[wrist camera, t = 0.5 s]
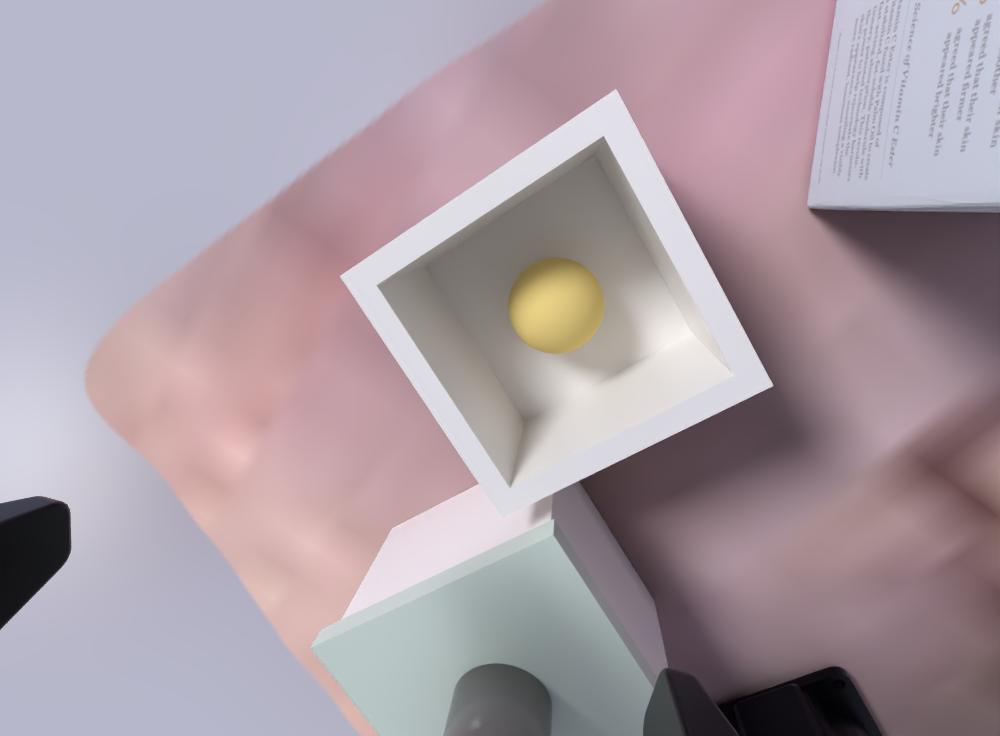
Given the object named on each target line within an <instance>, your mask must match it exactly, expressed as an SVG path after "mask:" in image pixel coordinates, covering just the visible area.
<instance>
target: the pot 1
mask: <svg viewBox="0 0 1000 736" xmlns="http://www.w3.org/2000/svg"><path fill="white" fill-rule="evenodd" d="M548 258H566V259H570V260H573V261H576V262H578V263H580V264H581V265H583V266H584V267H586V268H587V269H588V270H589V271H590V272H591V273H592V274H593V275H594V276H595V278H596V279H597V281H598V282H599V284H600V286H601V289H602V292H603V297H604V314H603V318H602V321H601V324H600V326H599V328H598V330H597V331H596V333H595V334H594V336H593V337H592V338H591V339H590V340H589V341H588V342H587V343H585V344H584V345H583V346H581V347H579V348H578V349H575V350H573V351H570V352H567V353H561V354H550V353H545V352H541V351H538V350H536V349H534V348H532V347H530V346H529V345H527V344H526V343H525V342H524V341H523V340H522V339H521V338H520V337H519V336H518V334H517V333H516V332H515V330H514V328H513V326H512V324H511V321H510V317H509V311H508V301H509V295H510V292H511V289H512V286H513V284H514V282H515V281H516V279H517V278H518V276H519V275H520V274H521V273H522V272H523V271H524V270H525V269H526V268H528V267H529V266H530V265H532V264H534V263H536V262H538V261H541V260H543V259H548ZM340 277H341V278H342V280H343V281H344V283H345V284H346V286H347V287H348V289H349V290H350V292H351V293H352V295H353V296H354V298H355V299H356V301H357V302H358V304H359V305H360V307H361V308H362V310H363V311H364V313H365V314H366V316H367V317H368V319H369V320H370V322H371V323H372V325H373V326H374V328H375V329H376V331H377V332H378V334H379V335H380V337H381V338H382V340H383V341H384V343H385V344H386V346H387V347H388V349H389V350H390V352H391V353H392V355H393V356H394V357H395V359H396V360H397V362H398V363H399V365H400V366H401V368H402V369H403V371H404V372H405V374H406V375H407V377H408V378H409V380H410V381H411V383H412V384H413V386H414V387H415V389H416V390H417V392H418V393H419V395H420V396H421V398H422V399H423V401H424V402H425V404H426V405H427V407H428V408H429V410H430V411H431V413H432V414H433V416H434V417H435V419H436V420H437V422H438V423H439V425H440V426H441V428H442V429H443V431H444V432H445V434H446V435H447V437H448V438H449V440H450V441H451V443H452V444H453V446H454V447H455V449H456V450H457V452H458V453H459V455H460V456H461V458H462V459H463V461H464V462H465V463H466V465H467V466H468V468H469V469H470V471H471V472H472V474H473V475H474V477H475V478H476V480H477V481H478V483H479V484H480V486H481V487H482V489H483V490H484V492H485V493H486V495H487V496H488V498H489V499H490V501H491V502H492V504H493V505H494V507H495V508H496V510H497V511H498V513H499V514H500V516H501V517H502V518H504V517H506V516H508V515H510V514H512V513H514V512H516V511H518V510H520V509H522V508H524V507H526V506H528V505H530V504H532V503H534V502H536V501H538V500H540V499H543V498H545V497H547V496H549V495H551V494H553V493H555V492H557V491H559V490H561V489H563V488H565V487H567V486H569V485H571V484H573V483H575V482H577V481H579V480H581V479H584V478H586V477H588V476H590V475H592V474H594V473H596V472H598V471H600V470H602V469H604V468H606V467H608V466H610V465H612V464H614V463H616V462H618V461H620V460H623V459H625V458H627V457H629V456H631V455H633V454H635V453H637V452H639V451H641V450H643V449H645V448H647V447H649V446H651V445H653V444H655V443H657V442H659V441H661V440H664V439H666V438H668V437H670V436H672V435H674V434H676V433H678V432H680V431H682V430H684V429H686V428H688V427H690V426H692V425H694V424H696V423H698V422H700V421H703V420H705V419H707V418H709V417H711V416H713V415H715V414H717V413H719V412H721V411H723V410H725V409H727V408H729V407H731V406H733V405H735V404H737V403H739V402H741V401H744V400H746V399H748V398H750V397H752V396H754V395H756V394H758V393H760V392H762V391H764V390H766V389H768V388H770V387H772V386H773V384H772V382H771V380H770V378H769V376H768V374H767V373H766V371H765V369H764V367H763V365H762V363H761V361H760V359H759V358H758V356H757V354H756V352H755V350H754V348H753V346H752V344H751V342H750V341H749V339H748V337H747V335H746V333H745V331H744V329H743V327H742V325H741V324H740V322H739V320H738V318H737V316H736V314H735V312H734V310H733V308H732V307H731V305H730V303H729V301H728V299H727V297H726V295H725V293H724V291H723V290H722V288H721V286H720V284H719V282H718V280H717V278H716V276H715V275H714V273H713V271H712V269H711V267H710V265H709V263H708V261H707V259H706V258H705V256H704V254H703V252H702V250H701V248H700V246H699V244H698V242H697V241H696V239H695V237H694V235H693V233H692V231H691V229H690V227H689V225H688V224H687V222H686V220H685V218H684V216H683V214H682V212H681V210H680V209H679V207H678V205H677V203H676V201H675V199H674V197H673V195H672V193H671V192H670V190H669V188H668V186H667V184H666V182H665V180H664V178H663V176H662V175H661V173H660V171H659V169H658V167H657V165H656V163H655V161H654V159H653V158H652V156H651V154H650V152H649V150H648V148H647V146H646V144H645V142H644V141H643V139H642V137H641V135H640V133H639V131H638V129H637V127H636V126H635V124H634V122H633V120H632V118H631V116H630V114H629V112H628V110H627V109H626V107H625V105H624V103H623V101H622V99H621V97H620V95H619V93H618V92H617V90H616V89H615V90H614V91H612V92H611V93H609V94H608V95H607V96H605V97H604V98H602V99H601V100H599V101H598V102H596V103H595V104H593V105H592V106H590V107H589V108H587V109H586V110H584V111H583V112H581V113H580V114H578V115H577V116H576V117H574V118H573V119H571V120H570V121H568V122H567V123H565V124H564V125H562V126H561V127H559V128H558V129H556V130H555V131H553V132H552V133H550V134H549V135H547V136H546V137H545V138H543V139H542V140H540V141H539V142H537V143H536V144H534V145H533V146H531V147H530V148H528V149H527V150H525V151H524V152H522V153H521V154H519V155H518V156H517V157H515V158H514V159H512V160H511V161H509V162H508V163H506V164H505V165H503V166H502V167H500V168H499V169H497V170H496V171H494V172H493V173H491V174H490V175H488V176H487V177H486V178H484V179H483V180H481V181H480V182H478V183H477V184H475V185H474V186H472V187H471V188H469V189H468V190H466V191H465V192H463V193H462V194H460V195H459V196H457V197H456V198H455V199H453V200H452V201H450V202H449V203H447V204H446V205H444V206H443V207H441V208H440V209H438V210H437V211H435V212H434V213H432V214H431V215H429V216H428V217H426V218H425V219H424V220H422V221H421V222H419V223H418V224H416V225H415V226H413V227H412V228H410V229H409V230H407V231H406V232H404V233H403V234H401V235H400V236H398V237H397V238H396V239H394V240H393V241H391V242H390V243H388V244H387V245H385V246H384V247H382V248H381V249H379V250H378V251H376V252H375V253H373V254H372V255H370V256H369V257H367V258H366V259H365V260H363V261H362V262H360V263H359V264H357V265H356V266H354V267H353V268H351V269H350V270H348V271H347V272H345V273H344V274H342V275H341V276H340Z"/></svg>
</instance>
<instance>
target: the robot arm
mask: <svg viewBox="0 0 1000 736" xmlns="http://www.w3.org/2000/svg"><path fill="white" fill-rule="evenodd" d="M70 551H71V518H70V509H69V507H68V505H67V504H65V503H64V502H62V501H58V500H54V499H51V498H47V497H42V496H36V497H30V498H25V499H20V500H15V501H10V502H5V503H0V629H1V628H2V627H3V626H4V625H5V624H6V623H7V622H8V621H9V620H10V619H11V618H12V617H13V616H14V615H15V614H16V613H17V612H18V611H19V610H20V609H21V608H22V607H23V606H24V605H25V604H26V603H27V602H28V601H29V600H30V599H31V598H32V597H33V596H34V595H35V594H36V593H37V592H38V591H39V590H40V588H42V587H43V586H44V585H45V584H46V582H48V581H49V579H51V577H53V576H54V575H55V574H56V573H57V571H58V570H59V569H60V568H61V567H62V566H63V565H64V564H65V562H66V561H67V559H68V557H69V555H70ZM835 680H838V681H835ZM833 681H834V682H833ZM643 736H882V734H881V733H880V731H879V729H878V727H877V726H876V724H875V722H874V720H873V718H872V717H871V715H870V713H869V711H868V710H867V708H866V706H865V704H864V703H863V701H862V699H861V697H860V695H859V694H858V692H857V690H856V688H855V687H854V685H853V683H852V681H851V680H850V678H849V676H848V674H847V673H846V672H845V670H844V669H842V668H840V667H829V668H826V669H823V670H820V671H817V672H814V673H811V674H809V675H806V676H803V677H800V678H797V679H794V680H791V681H788V682H785V683H782V684H780V685H777V686H774V687H771V688H768V689H765V690H762V691H759V692H756V693H754V694H751V695H748V696H745V697H742V698H739V699H736V700H733V701H730V702H728V703H725V704H722V705H719V706H717V705H716V704H715V703H714V701H713V700H712V699H711V697H710V696H709V695H708V693H707V692H706V691H705V689H704V688H703V687H702V685H701V684H700V683H699V681H698V680H697V679H696V678H695V677H694V676H693V675H691V674H689V673H685V672H682V671H678V670H674V669H671V668H665V669H662V671H661V672H660V674H659V676H658V678H657V681H656V684H655V687H654V690H653V692H652V695H651V698H650V701H649V704H648V706H647V709H646V712H645V717H644V724H643Z"/></svg>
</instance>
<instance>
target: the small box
mask: <svg viewBox="0 0 1000 736" xmlns="http://www.w3.org/2000/svg"><path fill="white" fill-rule="evenodd" d="M807 206H808V208H810V209H826V210H870V211H924V212H992V213H1000V0H837V3H836V9H835V16H834V23H833V30H832V37H831V44H830V50H829V57H828V63H827V70H826V76H825V83H824V89H823V96H822V103H821V109H820V116H819V123H818V130H817V137H816V144H815V151H814V158H813V165H812V172H811V180H810V186H809V193H808V201H807Z"/></svg>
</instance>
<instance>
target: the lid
mask: <svg viewBox="0 0 1000 736" xmlns="http://www.w3.org/2000/svg"><path fill="white" fill-rule="evenodd" d="M311 650H312V651H313V652H314V653H315V655H316V656H317V657H318V659H319V660H320V661H321V662H322V664H323V665H324V666H325V667H326V669H327V670H328V671H329V672H330V674H331V675H332V676H333V678H334V679H335V680H336V681H337V683H338V684H339V685H340V686H341V688H342V689H343V690H344V691H345V693H346V694H347V695H348V696H349V698H350V699H351V700H352V702H353V703H354V704H355V705H356V707H357V708H358V709H359V710H360V712H361V713H362V714H363V715H364V717H365V718H366V719H367V721H368V722H369V723H370V724H371V726H372V727H373V728H374V729H375V731H376V732H377V733H378V734H379V736H643V724H644V717H645V712H646V709H647V706H648V704H649V701H650V698H651V695H652V692H653V690H654V687H655V684H656V681H657V676H656V675H655V673H654V672H653V670H652V669H651V667H650V666H649V664H648V663H647V661H646V659H645V658H644V656H643V655H642V653H641V652H640V650H639V649H638V647H637V646H636V644H635V643H634V641H633V639H632V638H631V636H630V635H629V633H628V632H627V630H626V629H625V627H624V626H623V624H622V622H621V621H620V619H619V618H618V616H617V615H616V613H615V612H614V610H613V609H612V607H611V606H610V604H609V602H608V601H607V599H606V598H605V596H604V595H603V593H602V592H601V590H600V589H599V587H598V585H597V584H596V582H595V581H594V579H593V578H592V576H591V575H590V573H589V572H588V570H587V569H586V567H585V565H584V564H583V562H582V561H581V559H580V558H579V556H578V555H577V553H576V552H575V550H574V548H573V547H572V545H571V544H570V542H569V541H568V539H567V538H566V536H565V535H564V533H563V532H562V530H561V528H560V527H559V525H558V524H557V522H556V521H555V519H553V520H550V521H548V522H546V523H544V524H542V525H540V526H538V527H536V528H534V529H531V530H529V531H527V532H525V533H523V534H521V535H519V536H517V537H515V538H512V539H510V540H508V541H506V542H504V543H502V544H500V545H498V546H496V547H493V548H491V549H489V550H487V551H485V552H483V553H481V554H479V555H477V556H474V557H472V558H470V559H468V560H466V561H464V562H462V563H460V564H458V565H455V566H453V567H451V568H449V569H447V570H445V571H443V572H441V573H439V574H436V575H434V576H432V577H430V578H428V579H426V580H424V581H422V582H420V583H417V584H415V585H413V586H411V587H409V588H407V589H405V590H403V591H401V592H398V593H396V594H394V595H392V596H390V597H388V598H386V599H384V600H382V601H380V602H377V603H375V604H373V605H371V606H369V607H367V608H365V609H363V610H361V611H358V612H356V613H354V614H352V615H350V616H348V617H346V618H344V619H342V620H339V621H337V622H335V623H333V624H331V625H329V626H327V627H325V628H323V629H321V631H320V632H319V634H318V636H317V638H316V639H315V641H314V643H313V644H312V646H311Z"/></svg>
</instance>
